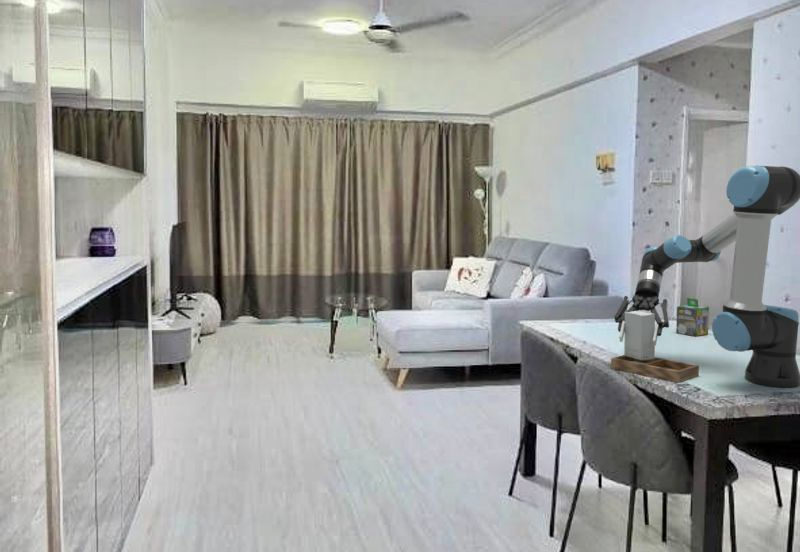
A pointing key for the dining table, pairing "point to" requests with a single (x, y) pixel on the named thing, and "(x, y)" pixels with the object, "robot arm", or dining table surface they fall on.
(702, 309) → the chalk box
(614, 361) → the wooden divided tray
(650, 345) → the skincare box
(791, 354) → the robot arm
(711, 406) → the dining table surface
